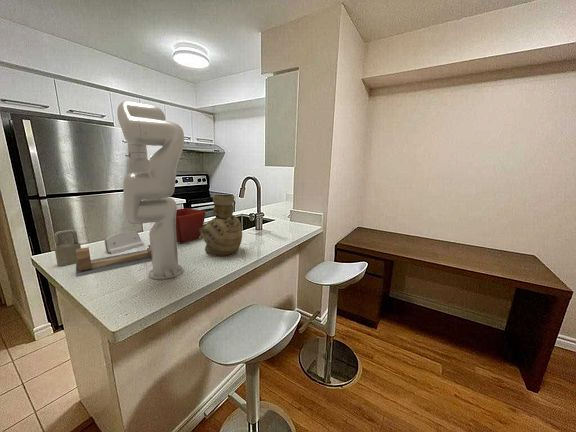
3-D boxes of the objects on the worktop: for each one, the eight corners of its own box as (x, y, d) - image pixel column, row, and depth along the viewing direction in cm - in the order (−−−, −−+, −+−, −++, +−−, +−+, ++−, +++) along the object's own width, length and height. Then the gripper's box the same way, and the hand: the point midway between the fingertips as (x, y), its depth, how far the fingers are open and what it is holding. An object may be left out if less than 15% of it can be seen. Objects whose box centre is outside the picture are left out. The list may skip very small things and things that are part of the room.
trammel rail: (161, 254, 115) (160, 248, 114) (79, 271, 96) (78, 263, 95) (156, 249, 122) (156, 243, 121) (79, 264, 102) (77, 257, 101)
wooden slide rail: (164, 257, 115) (164, 255, 114) (76, 276, 94) (76, 273, 94) (157, 249, 125) (157, 247, 125) (76, 265, 104) (76, 262, 104)
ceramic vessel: (198, 249, 126) (194, 193, 120) (237, 245, 135) (236, 192, 129) (202, 262, 110) (198, 198, 104) (246, 256, 119) (246, 196, 113)
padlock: (57, 264, 105) (50, 231, 102) (80, 259, 111) (75, 227, 108) (59, 267, 102) (53, 233, 99) (83, 261, 109) (78, 229, 106)
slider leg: (92, 268, 98) (89, 249, 97) (79, 270, 96) (76, 251, 94) (91, 261, 105) (88, 244, 103) (78, 264, 102) (76, 246, 100)
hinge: (110, 254, 117) (104, 235, 117) (106, 256, 120) (100, 237, 119) (144, 245, 131) (139, 228, 131) (140, 246, 134) (135, 229, 134)
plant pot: (179, 246, 131) (177, 216, 128) (159, 240, 141) (156, 212, 137) (207, 238, 147) (206, 211, 144) (187, 233, 157) (186, 207, 153)
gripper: (120, 155, 107) (125, 196, 110) (157, 157, 116) (160, 194, 120) (118, 156, 112) (123, 194, 116) (153, 157, 122) (157, 193, 126)
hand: (142, 194), depth 118 cm, fingers closed
